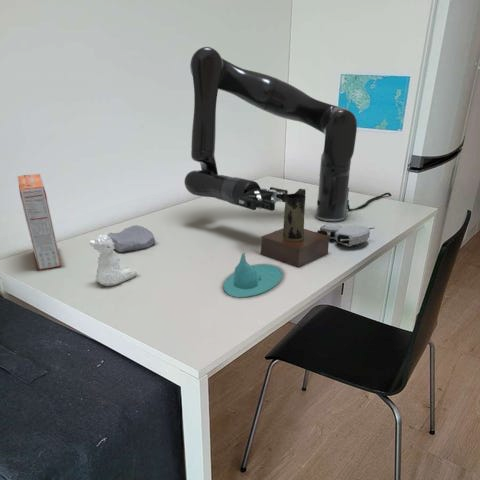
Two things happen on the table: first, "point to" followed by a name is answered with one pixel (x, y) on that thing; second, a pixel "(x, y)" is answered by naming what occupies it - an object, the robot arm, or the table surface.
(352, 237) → the robot toy
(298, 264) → the walnut block
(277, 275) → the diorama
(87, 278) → the table surface
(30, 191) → the cracker box
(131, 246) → the stone block
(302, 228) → the mug
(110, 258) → the sitting furry creature
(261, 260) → the table surface
